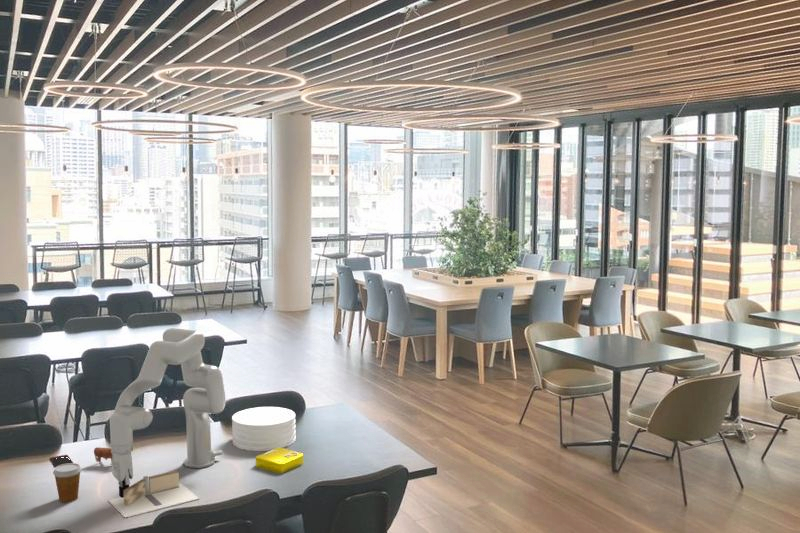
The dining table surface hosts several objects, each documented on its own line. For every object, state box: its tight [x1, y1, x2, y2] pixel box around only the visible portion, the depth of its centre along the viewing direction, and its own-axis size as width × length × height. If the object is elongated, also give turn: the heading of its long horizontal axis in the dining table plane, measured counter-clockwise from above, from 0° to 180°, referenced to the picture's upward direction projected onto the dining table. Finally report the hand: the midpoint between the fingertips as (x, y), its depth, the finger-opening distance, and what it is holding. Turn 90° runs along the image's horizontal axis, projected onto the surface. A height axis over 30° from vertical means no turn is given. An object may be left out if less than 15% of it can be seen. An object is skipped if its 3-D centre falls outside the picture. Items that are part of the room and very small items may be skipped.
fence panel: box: [123, 479, 146, 506], centre depth 286 cm, size 11×1×6 cm, turn 163°
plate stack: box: [231, 406, 297, 452], centre depth 354 cm, size 28×28×12 cm
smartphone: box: [49, 454, 74, 468], centre depth 326 cm, size 7×1×15 cm
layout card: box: [108, 470, 200, 519], centre depth 288 cm, size 27×18×7 cm, turn 127°
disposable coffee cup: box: [52, 462, 82, 503], centre depth 288 cm, size 10×10×12 cm
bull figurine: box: [93, 447, 112, 467], centre depth 323 cm, size 4×13×8 cm, turn 79°
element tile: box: [255, 447, 304, 474], centre depth 324 cm, size 15×15×5 cm
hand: (124, 496), depth 285 cm, fingers closed
